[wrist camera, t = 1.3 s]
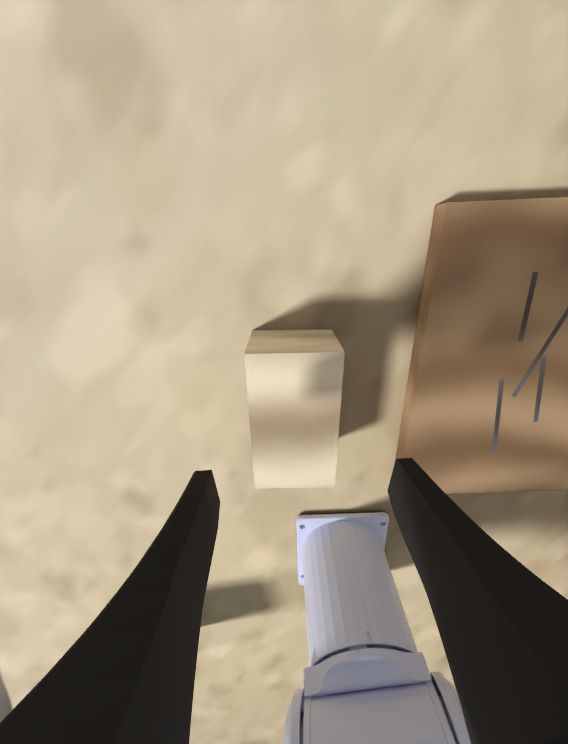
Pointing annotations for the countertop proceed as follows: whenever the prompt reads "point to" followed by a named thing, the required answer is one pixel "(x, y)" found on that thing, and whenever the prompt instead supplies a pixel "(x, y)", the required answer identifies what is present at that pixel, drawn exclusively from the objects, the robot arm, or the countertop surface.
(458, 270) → the oak board
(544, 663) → the robot arm
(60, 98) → the countertop surface
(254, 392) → the block
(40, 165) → the countertop surface
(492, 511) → the countertop surface
